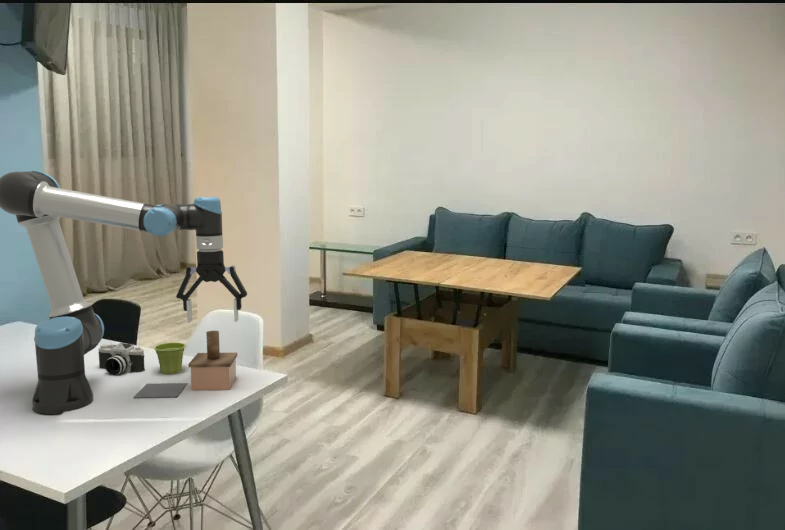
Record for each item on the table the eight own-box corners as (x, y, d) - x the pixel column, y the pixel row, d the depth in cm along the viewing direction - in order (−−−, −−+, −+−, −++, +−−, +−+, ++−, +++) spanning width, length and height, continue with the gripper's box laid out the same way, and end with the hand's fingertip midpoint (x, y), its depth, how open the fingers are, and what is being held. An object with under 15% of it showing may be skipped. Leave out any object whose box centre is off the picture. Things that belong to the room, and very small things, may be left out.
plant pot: (177, 378, 209) (176, 350, 207) (149, 376, 210) (148, 349, 209) (192, 369, 218) (191, 343, 216) (165, 367, 219) (164, 341, 218)
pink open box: (191, 390, 197) (190, 366, 196) (200, 378, 208) (199, 356, 207) (229, 389, 198) (228, 366, 197) (236, 378, 209) (235, 356, 208)
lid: (188, 367, 196) (187, 337, 194) (198, 356, 208) (196, 327, 206) (230, 366, 196) (229, 336, 195) (237, 355, 208) (236, 327, 207)
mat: (133, 398, 190) (133, 396, 190) (146, 384, 202) (146, 383, 202) (177, 397, 191) (176, 396, 191) (187, 384, 203) (187, 383, 202)
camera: (87, 375, 212) (85, 344, 210) (105, 367, 220) (103, 337, 219) (131, 379, 208) (130, 347, 206) (148, 371, 216) (147, 340, 215)
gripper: (162, 252, 193) (167, 324, 196) (251, 250, 194) (253, 323, 197) (170, 249, 200) (173, 319, 203) (254, 247, 202) (257, 317, 205)
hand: (213, 321), depth 200 cm, fingers open, 13 cm apart
